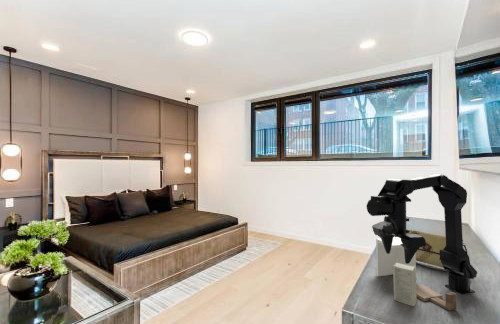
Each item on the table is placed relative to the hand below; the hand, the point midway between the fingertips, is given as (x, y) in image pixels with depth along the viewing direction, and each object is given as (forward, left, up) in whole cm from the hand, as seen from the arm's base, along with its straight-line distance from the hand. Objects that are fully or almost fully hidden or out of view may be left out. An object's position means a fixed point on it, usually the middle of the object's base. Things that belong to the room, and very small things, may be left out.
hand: (397, 258), depth 87 cm
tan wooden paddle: (-11, 0, -14) cm, 18 cm away
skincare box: (-1, +2, -14) cm, 15 cm away
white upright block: (-11, -13, -14) cm, 22 cm away
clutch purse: (-36, -21, -15) cm, 45 cm away
